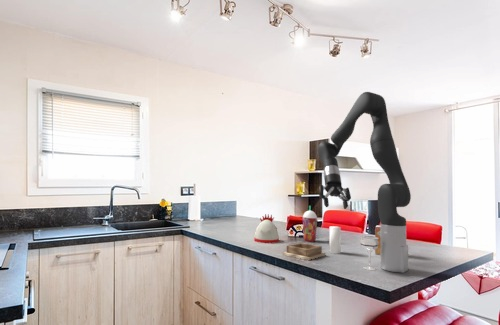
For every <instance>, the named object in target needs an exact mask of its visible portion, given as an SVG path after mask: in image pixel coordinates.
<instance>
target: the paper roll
mask: <svg viewBox="0 0 500 325" xmlns="http://www.w3.org/2000/svg"><path fill="white" fill-rule="evenodd" d="M341 229H342V227H341V226H334V225H333V226H329V245H328V246H329V253H330V254H335V255H336V254H341V251H342V250H341V249H342V247H341V246H342V245H341V242H342V240H341V238H342V237H341V236H342V235H341V234H342V233H341V232H342V230H341Z"/></svg>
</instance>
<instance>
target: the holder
mask: <svg viewBox="0 0 500 325" xmlns="http://www.w3.org/2000/svg"><path fill="white" fill-rule="evenodd" d="M322 249H323V248H322V246H321V245H315V244H309V243H304V242H298V243H294V244H289V245H286V251H283V252H282V256H287V257H292V258H295V257H296V259H300V258H301V260H304V259H306V260H305V261H312V260H315V258H316V259H319V258H321V257H324V256H326V255H327V253H326V252H322V251H323V250H322ZM318 257H319V258H318ZM311 259H312V260H311Z"/></svg>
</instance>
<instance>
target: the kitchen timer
mask: <svg viewBox="0 0 500 325" xmlns="http://www.w3.org/2000/svg"><path fill="white" fill-rule="evenodd" d="M259 219H260V223H259V224H258V225H257V227H256V229H255V233H254V236H253V240H254V242H257V243H261V244H275V243H279V241H280V236H279V232H278V228H277V227H276V225H275V223H274V222H273V221H274V220H275V217H273V215H272V214H270V216H269V213H268V214H266V213H265V215H262V218H261V217H260V218H259Z"/></svg>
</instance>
